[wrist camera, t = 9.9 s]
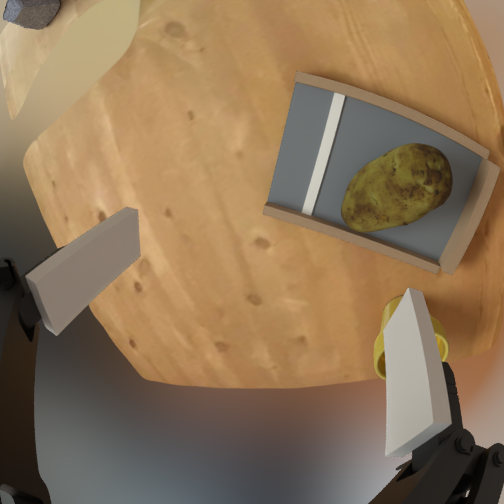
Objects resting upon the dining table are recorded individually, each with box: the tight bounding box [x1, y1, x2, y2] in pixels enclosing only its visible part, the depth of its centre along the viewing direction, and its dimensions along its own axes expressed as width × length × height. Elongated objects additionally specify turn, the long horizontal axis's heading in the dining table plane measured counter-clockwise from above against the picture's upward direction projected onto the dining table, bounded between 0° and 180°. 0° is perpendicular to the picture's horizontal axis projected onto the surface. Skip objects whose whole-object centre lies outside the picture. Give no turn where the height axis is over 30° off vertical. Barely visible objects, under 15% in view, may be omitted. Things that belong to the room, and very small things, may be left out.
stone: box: [3, 0, 60, 30], centre depth 23 cm, size 12×10×10 cm
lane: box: [263, 71, 501, 275], centre depth 28 cm, size 17×26×4 cm
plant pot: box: [374, 296, 449, 380], centre depth 33 cm, size 10×10×10 cm
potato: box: [341, 143, 453, 233], centre depth 25 cm, size 8×13×8 cm, turn 115°
